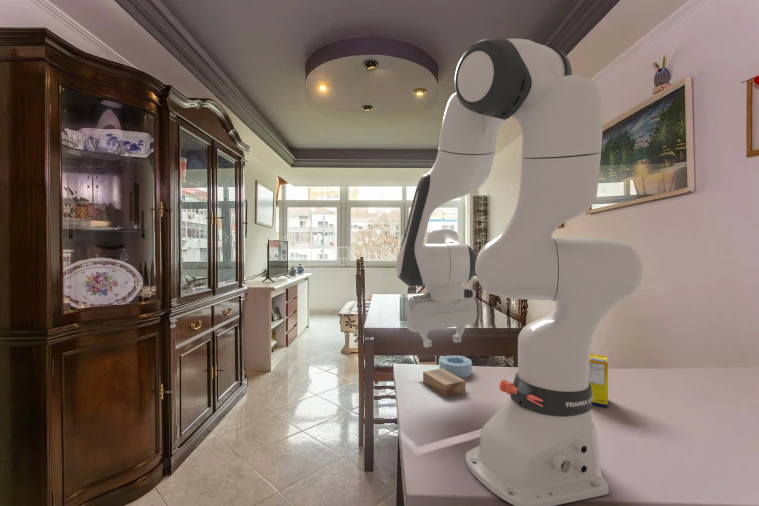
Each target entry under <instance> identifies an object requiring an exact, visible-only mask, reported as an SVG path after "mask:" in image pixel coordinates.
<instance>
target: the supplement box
mask: <svg viewBox="0 0 759 506" xmlns="http://www.w3.org/2000/svg"><path fill="white" fill-rule="evenodd" d="M608 367H609V366H608V356H607V355H604V354H598V353H597V354H596V353H590V361H589V384H590V385H591V387H592V394H593V400H592V406H597V407H603V408H606V409H608V408H609V390H608V389H609V388H608V387H609V383H608V382H609V379H608V378H609V375H608V374H609V373H608V372H609V371H608V369H609V368H608Z"/></svg>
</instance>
